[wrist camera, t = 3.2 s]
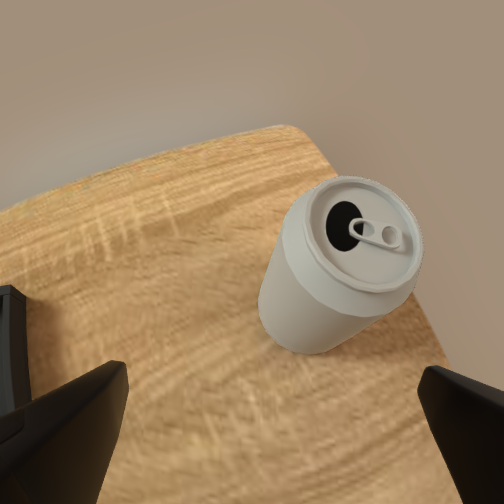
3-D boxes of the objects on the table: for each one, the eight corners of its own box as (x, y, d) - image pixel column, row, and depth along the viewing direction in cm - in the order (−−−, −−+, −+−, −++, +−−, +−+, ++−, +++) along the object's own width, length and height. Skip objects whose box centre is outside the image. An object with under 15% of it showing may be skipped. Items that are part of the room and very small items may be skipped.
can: (274, 251, 26) (311, 143, 16) (358, 283, 26) (437, 197, 15) (241, 337, 23) (265, 266, 12) (336, 369, 22) (431, 327, 12)
